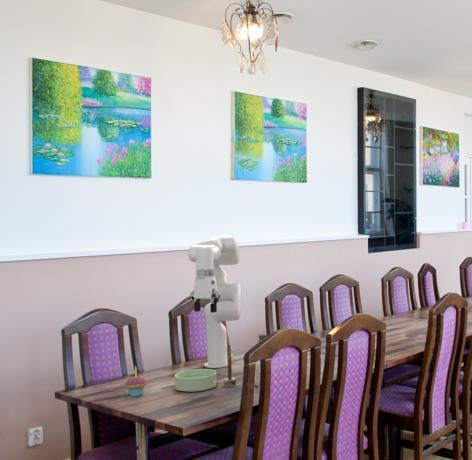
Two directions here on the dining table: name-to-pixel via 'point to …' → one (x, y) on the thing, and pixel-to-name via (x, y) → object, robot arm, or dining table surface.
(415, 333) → the dining table surface
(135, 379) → the cupcake
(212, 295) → the robot arm
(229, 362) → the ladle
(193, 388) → the bowl
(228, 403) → the dining table surface
